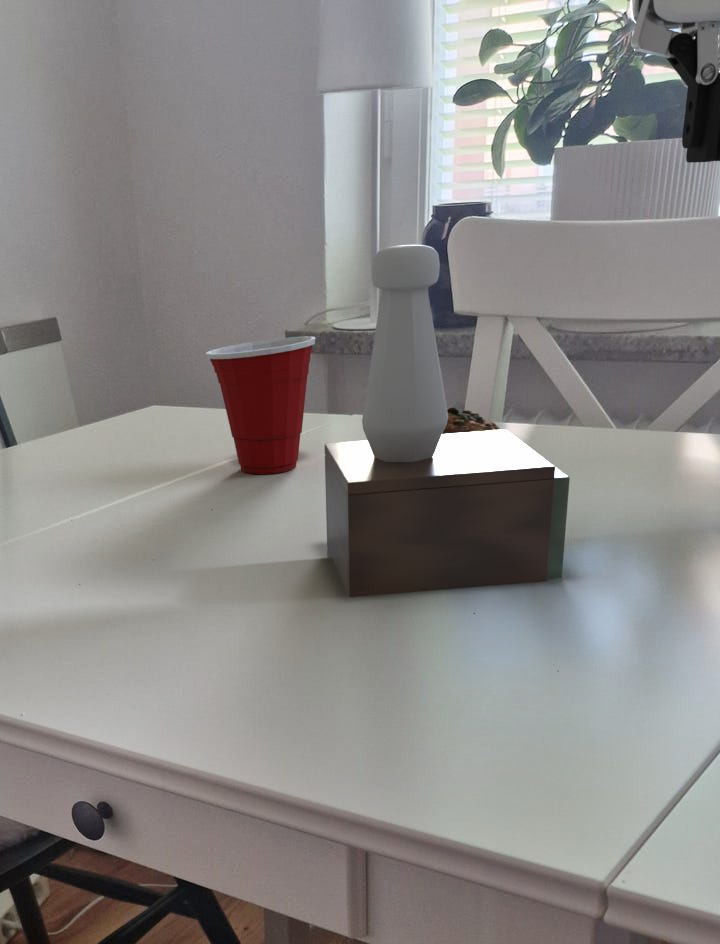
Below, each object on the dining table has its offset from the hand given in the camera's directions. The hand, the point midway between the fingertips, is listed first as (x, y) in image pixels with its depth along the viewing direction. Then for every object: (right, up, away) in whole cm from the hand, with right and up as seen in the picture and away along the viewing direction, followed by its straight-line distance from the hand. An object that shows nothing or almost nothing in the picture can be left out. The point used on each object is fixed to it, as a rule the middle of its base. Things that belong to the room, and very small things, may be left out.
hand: (707, 160), depth 73 cm
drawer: (-13, -22, +12) cm, 28 cm away
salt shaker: (-18, -16, +8) cm, 25 cm away
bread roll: (-8, -2, +47) cm, 48 cm away
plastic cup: (-26, -4, +46) cm, 53 cm away
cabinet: (-15, -23, +12) cm, 30 cm away
